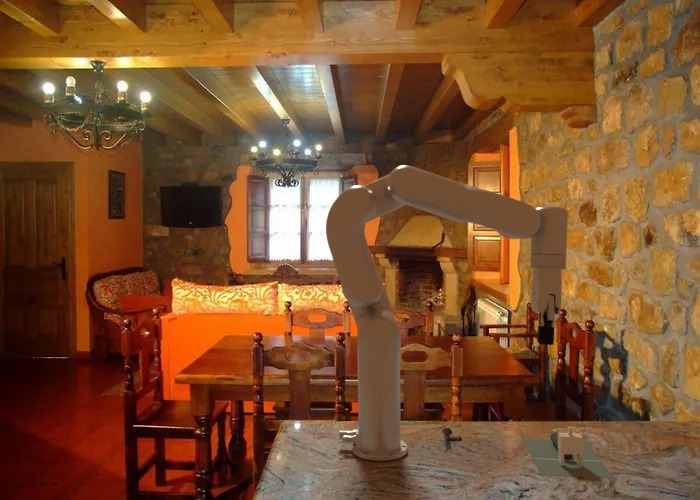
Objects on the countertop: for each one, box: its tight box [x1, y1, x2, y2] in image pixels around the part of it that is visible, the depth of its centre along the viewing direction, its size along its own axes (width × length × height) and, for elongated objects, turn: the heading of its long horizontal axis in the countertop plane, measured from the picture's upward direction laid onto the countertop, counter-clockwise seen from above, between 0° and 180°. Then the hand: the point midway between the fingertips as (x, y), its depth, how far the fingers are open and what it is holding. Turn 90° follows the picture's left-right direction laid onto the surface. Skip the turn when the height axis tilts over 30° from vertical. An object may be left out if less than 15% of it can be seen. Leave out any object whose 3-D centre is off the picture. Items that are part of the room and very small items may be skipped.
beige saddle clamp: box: [557, 426, 584, 466], centre depth 116 cm, size 4×2×8 cm, turn 83°
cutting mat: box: [522, 438, 615, 479], centre depth 121 cm, size 14×20×1 cm
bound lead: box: [549, 432, 573, 460], centre depth 123 cm, size 2×10×2 cm, turn 173°
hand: (545, 343), depth 125 cm, fingers closed
